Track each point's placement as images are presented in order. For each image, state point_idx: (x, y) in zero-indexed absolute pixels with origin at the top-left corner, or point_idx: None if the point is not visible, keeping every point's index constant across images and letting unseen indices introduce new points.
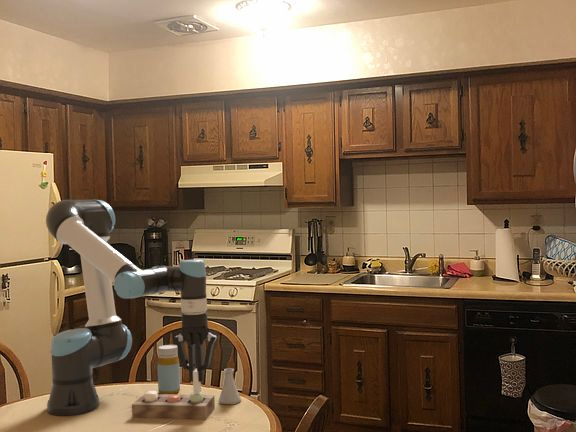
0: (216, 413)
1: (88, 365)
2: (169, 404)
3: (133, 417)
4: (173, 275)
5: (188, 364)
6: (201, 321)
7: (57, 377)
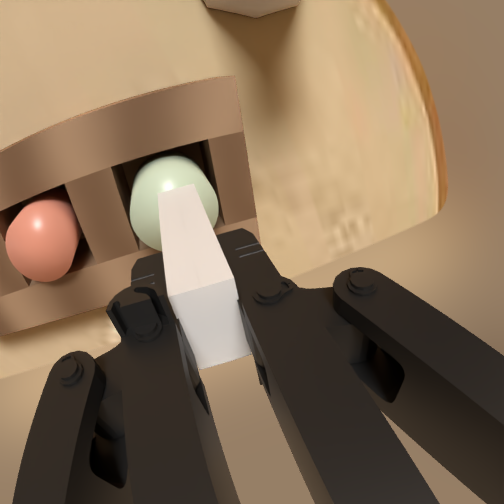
0: (254, 138)
1: None
2: (79, 304)
3: None
4: None
5: (120, 410)
6: None
7: None
